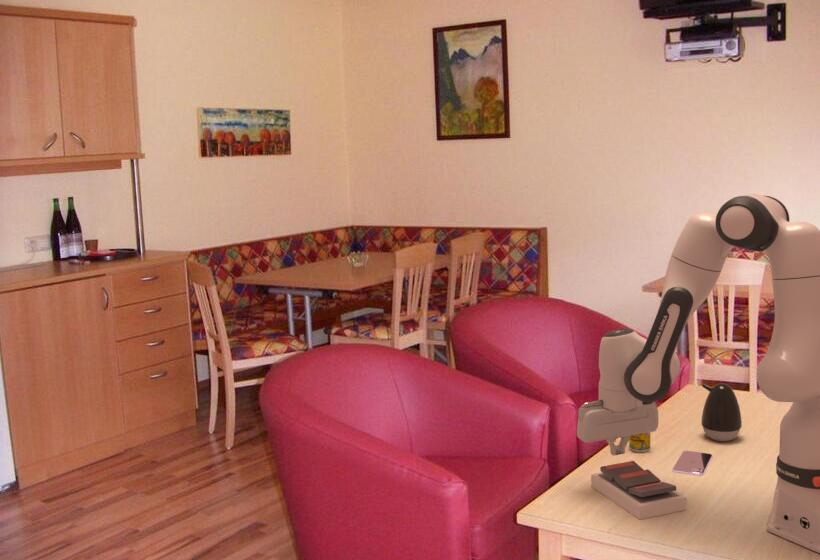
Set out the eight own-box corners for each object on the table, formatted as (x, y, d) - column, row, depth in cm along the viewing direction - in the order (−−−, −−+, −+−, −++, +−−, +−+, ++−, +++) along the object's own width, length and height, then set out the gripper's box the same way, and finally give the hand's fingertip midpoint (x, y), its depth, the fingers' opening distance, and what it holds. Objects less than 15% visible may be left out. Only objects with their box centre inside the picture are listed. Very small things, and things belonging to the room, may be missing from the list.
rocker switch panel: (686, 509, 201) (686, 496, 200) (639, 519, 197) (639, 505, 196) (634, 478, 219) (634, 465, 219) (591, 486, 215) (591, 473, 215)
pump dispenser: (708, 429, 251) (709, 376, 249) (746, 436, 245) (748, 381, 242) (694, 439, 243) (695, 385, 241) (733, 447, 237) (734, 391, 234)
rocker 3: (676, 490, 201) (676, 485, 201) (641, 497, 198) (641, 492, 198) (663, 486, 206) (662, 481, 206) (628, 492, 203) (628, 487, 203)
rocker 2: (660, 484, 207) (660, 480, 206) (626, 490, 204) (626, 486, 203) (647, 473, 211) (648, 469, 211) (614, 479, 208) (614, 475, 208)
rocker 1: (645, 475, 212) (645, 471, 212) (611, 481, 209) (611, 477, 209) (633, 464, 217) (633, 460, 216) (600, 470, 214) (600, 466, 213)
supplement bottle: (652, 447, 239) (652, 412, 237) (647, 454, 234) (647, 418, 233) (632, 444, 242) (632, 409, 240) (626, 451, 237) (626, 415, 235)
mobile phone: (713, 453, 232) (703, 474, 219) (713, 456, 232) (703, 477, 219) (683, 449, 235) (670, 469, 222) (683, 452, 235) (670, 473, 222)
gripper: (585, 407, 206) (585, 465, 208) (662, 395, 212) (661, 451, 215) (571, 399, 211) (571, 456, 214) (647, 388, 218) (646, 443, 221)
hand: (617, 454), depth 214 cm, fingers closed
